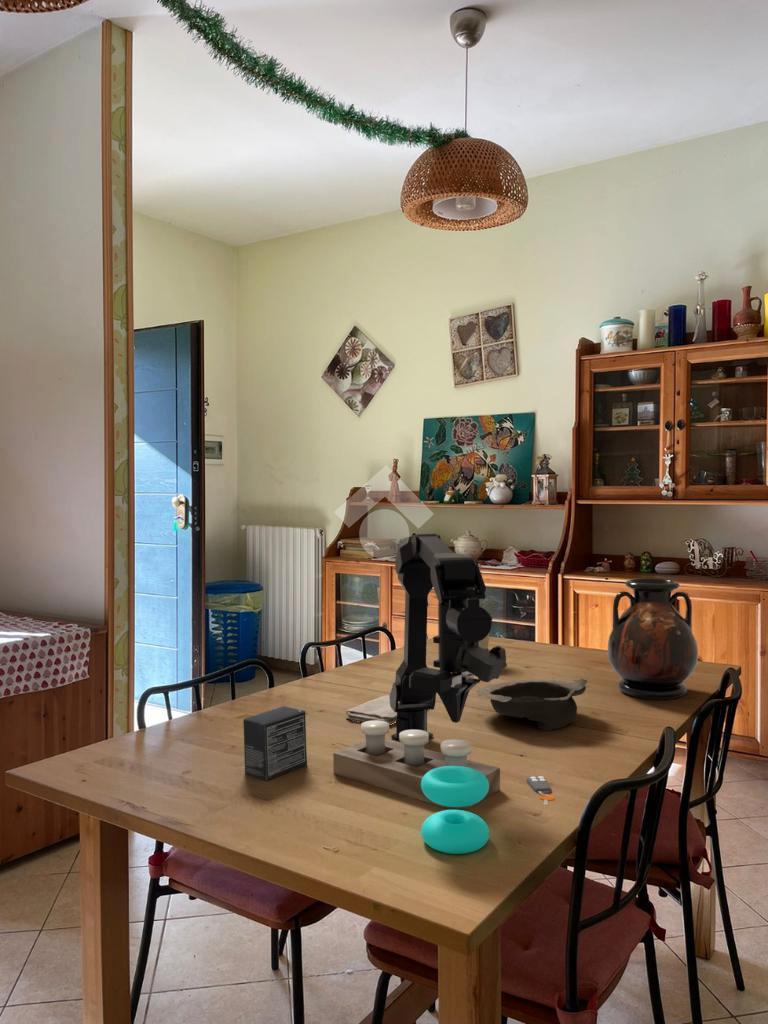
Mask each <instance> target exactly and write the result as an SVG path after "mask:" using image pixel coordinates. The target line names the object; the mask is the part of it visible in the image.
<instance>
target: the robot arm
mask: <svg viewBox="0 0 768 1024" xmlns="http://www.w3.org/2000/svg"><path fill="white" fill-rule="evenodd" d="M394 563H395V565H394V567H395V568H394V569H395V573H396V574H397V580H398V582H399V583H400V585H401V586H402V588H403V590H404V597H405V598H404V632H403V633H404V637H403V640H404V642H403V644H404V645H403V660H402V662H401V663H400V665H399V666H398V668H397V670H396V671H395V681H394V682H393V684H392V687H391V690H390V694H389V698H390V707H391V708H392V709H393V711H394V712H397V718H396V724H395V725H396V726H395V729H396V732H395V733H394V734H391V736H390V738H391V739H393V740H394V739H395V740H398V741H399V733H400V732H402V731H405V730H423V731H426V732H428V710H431V711H432V710H435V706H436V700H437V699H436V698H437V695H438V697H439V698H440V700H441V702H442V704H443V706H444V708H445V710H446V712H447V715H448V716H449V718H450V720H451V722H452V723H455V724H457V723H460V721H461V718H462V715H463V712H464V708H465V705H466V701H467V700H468V699H467V698H468V696H469V693H470V691H471V690H472V689H473V688H474V687H476V686H477V684H480V683H481V682H482V683H483V682H484V683H489V682H492V681H493V680H495V679H496V680H497V679H499V678H500V675H501V672H502V669H505V668H507V666H508V663H507V662H506V661H507V653H506V649H505V648H503V646H500V645H495V646H493V647H492V648H491V649H490V650H489V647H488V648H486V649H483V648H481V647H479V641H481V640H483V639H484V638H485V637H486V636H487V635H488V634H489V635H490V633H489V632H491V629H492V624H493V623H492V621H493V620H492V621H491V618H490V616H491V614H490V615H489V614H488V612H489V611H487V610H486V609H485V608H483V607H481V606H480V600H485V599H486V590H487V587H486V584H485V582H484V578H483V574H482V571H481V569H480V568H479V565H478V563H477V562H476V561H475V559H474V557H472V556H470V555H468V554H462V553H455V552H454V551H453V550H452V549H451V548H449V546H448V545H447V544H446V543H444V541H443V540H442V539H441V535H440V534H438V533H435V532H433V533H431V532H430V533H429V532H428V533H417V534H413V535H412V537H411V540H410V541H408V542H407V543H405V544H404V545H402V546H401V547H399V549H398V551H397V554H396V556H395V562H394ZM432 590H434V593H435V596H436V599H437V601H438V603H437V609H438V610H437V613H438V615H437V616H438V617H437V619H438V623H437V625H438V626H437V627H438V628H437V629H438V630H437V631H438V632H437V633H438V634H437V635H436V636H433V637H432V643H433V644H437V645H438V659H436V660H433V661H432V663H433V665H432V666H433V667H434V668H431V667H428V666H427V665H428V664H427V644H428V643H427V642H428V641H427V639H428V637H427V635H428V633H427V631H428V607H429V606H428V605H429V604H428V603H429V601H428V599H429V595H430V593H431V591H432ZM437 668H438V669H437ZM474 677H476V678H474ZM398 701H399V703H398ZM428 734H429V739H430V738H432V737H433V736H434V733H432V732H428Z"/></svg>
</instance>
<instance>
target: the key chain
mask: <svg viewBox="0 0 768 1024" xmlns="http://www.w3.org/2000/svg"><path fill="white" fill-rule="evenodd" d="M526 783H527V784H528V786H529V787H530V788H531V789H532V790H533V792H535V793H536V794H540V795H539V799H540V800H541V801H543V805H548V801H554V800H555V797H554V796H553V795H550V794H551V792H552V791H551V790H552V789H551V786H550V783H549V781H548V779H547V778H546V777H544V776H541V775H534V776H533V775H532V776H528V777H526Z"/></svg>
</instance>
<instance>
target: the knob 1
mask: <svg viewBox="0 0 768 1024" xmlns="http://www.w3.org/2000/svg"><path fill="white" fill-rule="evenodd" d="M360 732H361V734H363V735H364V736H365V740H366V753H367V754H370V755H374V756H379V755H381V754H384V753H385V739H386V735H387V734H388V733H389V732H390V726H389V723H387V722H385V721H378V720H374V721H366V722H363V723H360Z"/></svg>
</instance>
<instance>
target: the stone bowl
mask: <svg viewBox="0 0 768 1024" xmlns="http://www.w3.org/2000/svg"><path fill="white" fill-rule="evenodd" d="M587 683H588V680H587V679H584V678H580V679H578V680H577V679H575V680H573V681H570V680H566V679H548V678H547V679H546V678H545V679H520V680H509V681H505V682H500V683H495V684H492V685H491V684H490V685H487V686H484V687H482V688H479V689H478V690H476V694H477V696H478V697H482V698H485V699H489V700H490V704H491V706H492V708H493V710H494V711H495V712H496V713H497V714H499V715H502V716H503V715H504V716H508V717H514V718H518V719H519V718H520V719H521V718H527V720H529V721H533V722H537V726H538V728H539V730H542V731H545V730H546V731H547V732H549V731H548V730H550V731H552V730H558V729H560V728H565V727H567V726H569V724H572V723H573V722H575V721H576V719H577V717H578V716H577V715H578V714H577V713H578V706H577V702H576V701H575V699H574V698H573V697H577V696H580V695H583V694H584V693H585V691H586V689H587V686H586V684H587Z"/></svg>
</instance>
